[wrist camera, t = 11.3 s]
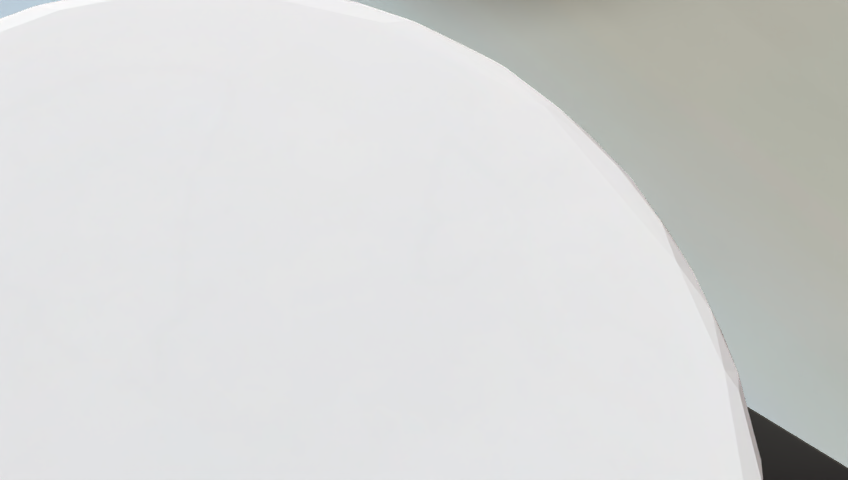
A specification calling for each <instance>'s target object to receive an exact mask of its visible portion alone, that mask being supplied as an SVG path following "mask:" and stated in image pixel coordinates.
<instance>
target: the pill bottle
mask: <svg viewBox="0 0 848 480" xmlns="http://www.w3.org/2000/svg"><path fill="white" fill-rule="evenodd" d="M0 480H763V474H762V464H761V458H760V454H759V450H758V447H757V443H756V439H755V435H754V431H753V427H752V424H751V420H750V416H749V412H748V408H747V405H746V401H745V397H744V393H743V389H742V385H741V382H740V378H739V374H738V371H737V369H736V366H735V364H734V361H733V359H732V356H731V354H730V351H729V349H728V346H727V344H726V341H725V339H724V336H723V334H722V331H721V329H720V327H719V325H718V323H717V321H716V319H715V317H714V315H713V312H712V310H711V308H710V306H709V304H708V302H707V300H706V298H705V295H704V293H703V291H702V289H701V287H700V285H699V283H698V281H697V278H696V276H695V274H694V272H693V270H692V269H691V267H690V265H689V264H688V262H687V261H686V259H685V257H684V256H683V254H682V252H681V251H680V249H679V248H678V246H677V244H676V243H675V241H674V239H673V238H672V236H671V235H670V233H669V231H668V230H667V229H666V227H665V226H664V224H663V223H662V221H661V220H660V219H659V217H658V216H657V214H656V213H655V211H654V210H653V208H652V207H651V206H650V204H649V203H648V201H647V200H646V198H645V197H644V195H643V194H642V193H641V191H640V190H639V188H638V187H637V185H636V184H635V182H634V181H633V180H632V178H631V177H630V176H629V175H628V174H627V173H626V172H625V171H624V170H623V169H622V168H621V167H620V166H619V165H618V164H617V163H616V162H615V161H614V160H613V159H612V158H611V157H610V156H609V155H608V153H607V152H606V151H605V150H604V149H603V148H602V147H601V146H600V145H599V144H598V143H597V142H596V141H595V140H594V139H593V138H592V137H591V136H590V135H589V134H588V133H587V132H586V131H585V130H584V129H582V128H581V127H580V126H579V125H578V124H577V123H576V122H575V121H573V120H572V119H571V118H570V117H569V116H568V115H567V114H565V113H564V112H563V111H562V110H561V109H560V108H559V107H557V106H556V105H555V104H553V103H552V102H551V101H549V100H548V99H547V98H545V97H544V96H543V95H541V94H540V93H539V92H537V91H536V90H535V89H534V88H532V87H531V86H530V85H528V84H527V83H526V82H524V81H523V80H522V79H520V78H519V77H518V76H516V75H515V74H514V73H512V72H511V71H510V70H508V69H507V68H506V67H504V66H503V65H501V64H499V63H497V62H495V61H493V60H492V59H490V58H488V57H486V56H484V55H482V54H480V53H478V52H476V51H475V50H472V49H470V48H468V47H466V46H464V45H462V44H460V43H458V42H456V41H454V40H452V39H450V38H448V37H446V36H444V35H442V34H440V33H438V32H436V31H433V30H431V29H429V28H427V27H425V26H423V25H421V24H419V23H417V22H414V21H412V20H409V19H406V18H403V17H400V16H397V15H394V14H391V13H388V12H385V11H382V10H379V9H376V8H373V7H370V6H367V5H364V4H361V3H358V2H353V1H349V0H62V1H57V2H52V3H47V4H42V5H37V6H34V7H31V8H28V9H25V10H23V11H20V12H17V13H14V14H12V15H9V16H6V17H3V18H1V19H0Z"/></svg>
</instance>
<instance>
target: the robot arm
mask: <svg viewBox="0 0 848 480" xmlns="http://www.w3.org/2000/svg"><path fill="white" fill-rule="evenodd" d="M747 408H748V412H749V416H750V420H751V424H752V427H753V431H754V435H755V439H756V443H757V447H758V450H759V454H760V458H761V464H762V474H763V480H848V468H847V467H845V466H844V465H842V464H841V463H839V462H837V461H836V460H834V459H832V458H831V457H829V456H827V455H826V454H824V453H822V452H821V451H819V450H818V449H816V448H814V447H813V446H811V445H809V444H808V443H806V442H804V441H803V440H801V439H799V438H798V437H796V436H795V435H793V434H791V433H790V432H788V431H786V430H785V429H783V428H781V427H780V426H778V425H776V424H775V423H773V422H772V421H770V420H768V419H767V418H765V417H763V416H762V415H760V414H758V413H757V412H755V411H753V410H752V409H750V408H749V407H747Z"/></svg>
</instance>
